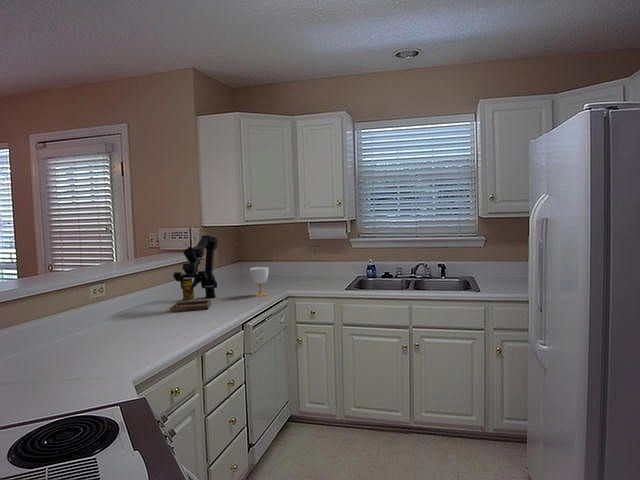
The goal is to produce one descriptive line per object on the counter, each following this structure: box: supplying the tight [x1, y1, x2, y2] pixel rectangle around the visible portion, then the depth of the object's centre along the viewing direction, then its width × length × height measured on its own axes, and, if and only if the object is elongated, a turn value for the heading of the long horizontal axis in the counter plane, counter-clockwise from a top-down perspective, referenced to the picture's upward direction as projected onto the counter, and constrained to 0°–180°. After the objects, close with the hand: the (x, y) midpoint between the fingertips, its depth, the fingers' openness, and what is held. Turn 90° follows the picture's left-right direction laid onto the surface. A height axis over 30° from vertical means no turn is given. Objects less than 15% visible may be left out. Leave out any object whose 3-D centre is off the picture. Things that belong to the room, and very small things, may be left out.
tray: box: [170, 299, 212, 313], centre depth 267 cm, size 16×20×2 cm
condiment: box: [178, 278, 197, 302], centre depth 266 cm, size 7×8×12 cm
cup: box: [249, 266, 269, 297], centre depth 297 cm, size 12×12×17 cm
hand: (187, 288), depth 264 cm, fingers closed on condiment, 6 cm apart
